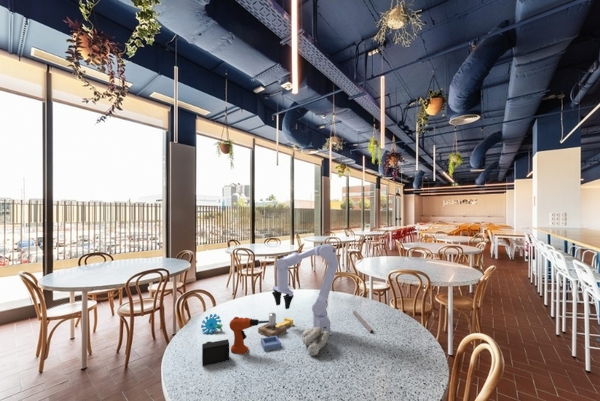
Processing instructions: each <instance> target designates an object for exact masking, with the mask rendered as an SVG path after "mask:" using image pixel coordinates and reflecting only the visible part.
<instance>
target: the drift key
mask: <svg viewBox="0 0 600 401" xmlns="http://www.w3.org/2000/svg"><path fill="white" fill-rule="evenodd" d="M288 324H289V327H290V326H291V327H293V326H294V319H292V318H289V317H284V321H281V322H279V323H277V325H276V328H278V327H279V326H281V325H283V326H286V325H288Z"/></svg>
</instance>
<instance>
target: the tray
mask: <svg viewBox="0 0 600 401" xmlns="http://www.w3.org/2000/svg"><path fill="white" fill-rule="evenodd" d="M260 345H261V347H262V349H263V352H266V351H267V352H268V351H272V350H278V349H281V348H282V342H281V341H280V339H279V337H278V336H272V337H267V336H265V337H261V338H260Z"/></svg>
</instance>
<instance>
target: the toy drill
mask: <svg viewBox="0 0 600 401" xmlns="http://www.w3.org/2000/svg"><path fill="white" fill-rule="evenodd" d="M268 323H269V320H259V319H258V318H257V319H255V318H250V317H239V316H234V317H233V319H231V320H230V322H229V329H230V330H231V331H232V332H233V336H234V340H233V344H232V345H231V348H230V352H231V353H233V354H238V355H244V354H247V353H248V352H249V347H248V346H247V345H245V342H244V340H246V339H247V335H246V333H245V331H244V330H247V329H249V328H252V327H256V326H258V325H259V324H268Z"/></svg>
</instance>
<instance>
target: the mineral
mask: <svg viewBox="0 0 600 401" xmlns="http://www.w3.org/2000/svg"><path fill="white" fill-rule="evenodd" d="M302 336H303V337H302V343H303V345H305V346H308V347H307V352H308V353H309V355H311V356H316V355H317V356H318V355H319V352H320V350H322V349H323V348H325V347H326V344H327V342H328V341H329V340H328V339H329V336H330V335H329V332H328V331H324V332H323V331H322V329H321V328H320V327H311V328H310V327H307V328H306V329H305V330H304V331H303V333H302Z"/></svg>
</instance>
